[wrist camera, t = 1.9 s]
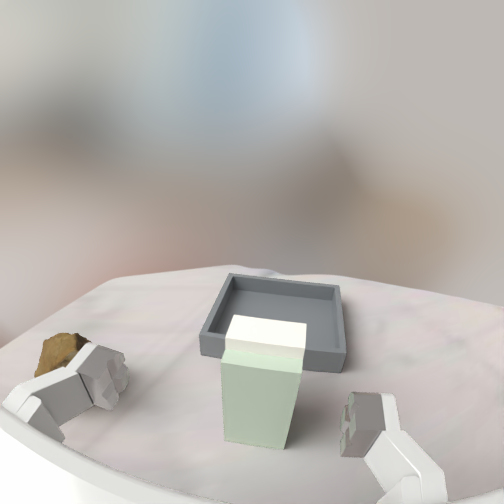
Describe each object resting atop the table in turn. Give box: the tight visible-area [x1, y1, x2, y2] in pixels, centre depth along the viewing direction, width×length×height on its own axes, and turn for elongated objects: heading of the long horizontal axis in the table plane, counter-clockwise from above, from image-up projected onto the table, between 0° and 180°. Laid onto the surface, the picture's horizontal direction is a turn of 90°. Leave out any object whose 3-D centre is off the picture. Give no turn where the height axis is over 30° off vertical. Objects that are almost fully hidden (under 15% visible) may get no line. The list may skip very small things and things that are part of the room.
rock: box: [35, 333, 92, 378], centre depth 30 cm, size 11×9×10 cm
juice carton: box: [221, 315, 307, 450], centre depth 27 cm, size 6×6×13 cm
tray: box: [199, 273, 347, 373], centre depth 44 cm, size 18×16×4 cm
